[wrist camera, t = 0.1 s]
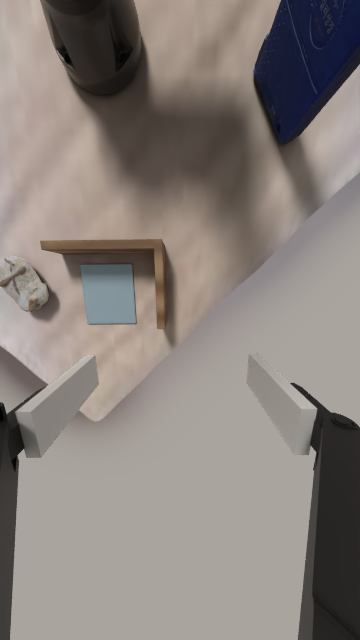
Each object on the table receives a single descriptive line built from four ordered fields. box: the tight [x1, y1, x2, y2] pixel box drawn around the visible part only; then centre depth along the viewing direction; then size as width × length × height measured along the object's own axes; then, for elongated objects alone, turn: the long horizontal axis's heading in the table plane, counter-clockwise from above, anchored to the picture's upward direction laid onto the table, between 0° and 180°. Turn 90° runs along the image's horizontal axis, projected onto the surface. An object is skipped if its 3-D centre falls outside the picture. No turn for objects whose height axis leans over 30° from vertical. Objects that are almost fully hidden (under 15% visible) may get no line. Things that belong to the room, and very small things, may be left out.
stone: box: [0, 256, 49, 312], centre depth 40 cm, size 12×9×3 cm
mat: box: [80, 264, 136, 324], centre depth 42 cm, size 14×12×1 cm
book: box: [253, 0, 360, 145], centre depth 25 cm, size 14×5×20 cm, turn 31°
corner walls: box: [40, 239, 167, 329], centre depth 39 cm, size 18×24×6 cm
